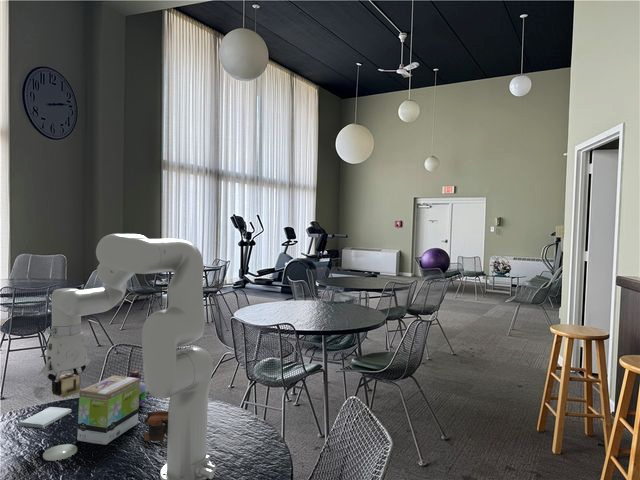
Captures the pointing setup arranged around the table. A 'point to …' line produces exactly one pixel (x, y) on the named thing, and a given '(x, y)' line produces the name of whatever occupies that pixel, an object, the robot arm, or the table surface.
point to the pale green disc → (60, 452)
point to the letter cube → (69, 384)
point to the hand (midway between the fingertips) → (66, 390)
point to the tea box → (108, 409)
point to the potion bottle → (142, 386)
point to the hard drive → (45, 417)
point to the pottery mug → (156, 426)
